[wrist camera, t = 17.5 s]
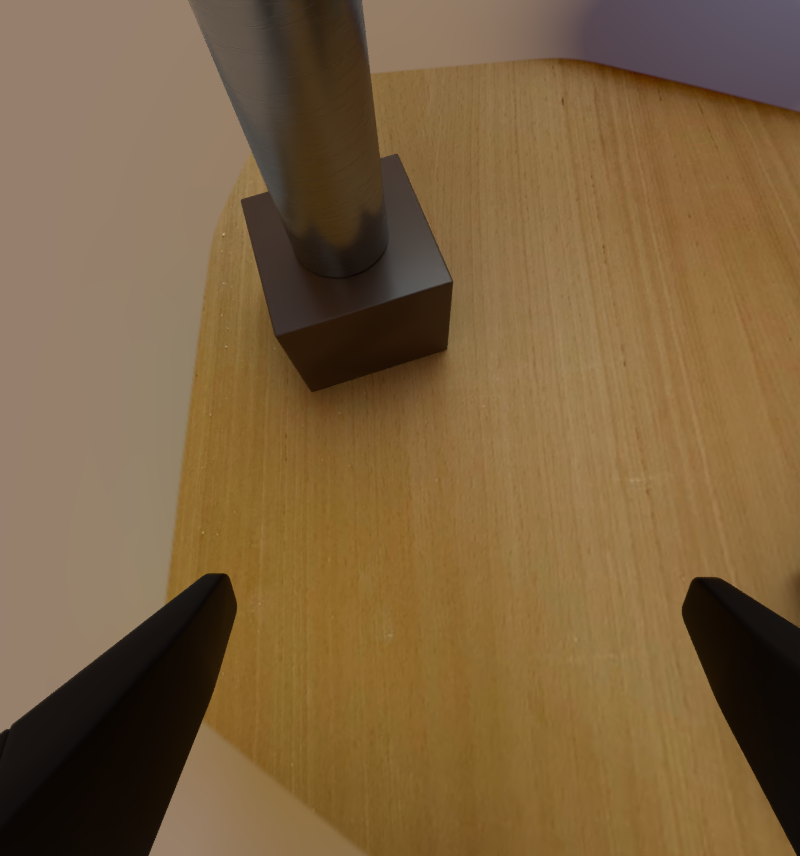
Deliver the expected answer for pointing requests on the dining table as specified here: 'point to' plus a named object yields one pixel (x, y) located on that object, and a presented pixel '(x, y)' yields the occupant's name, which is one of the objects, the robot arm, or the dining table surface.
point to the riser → (356, 293)
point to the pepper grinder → (306, 120)
